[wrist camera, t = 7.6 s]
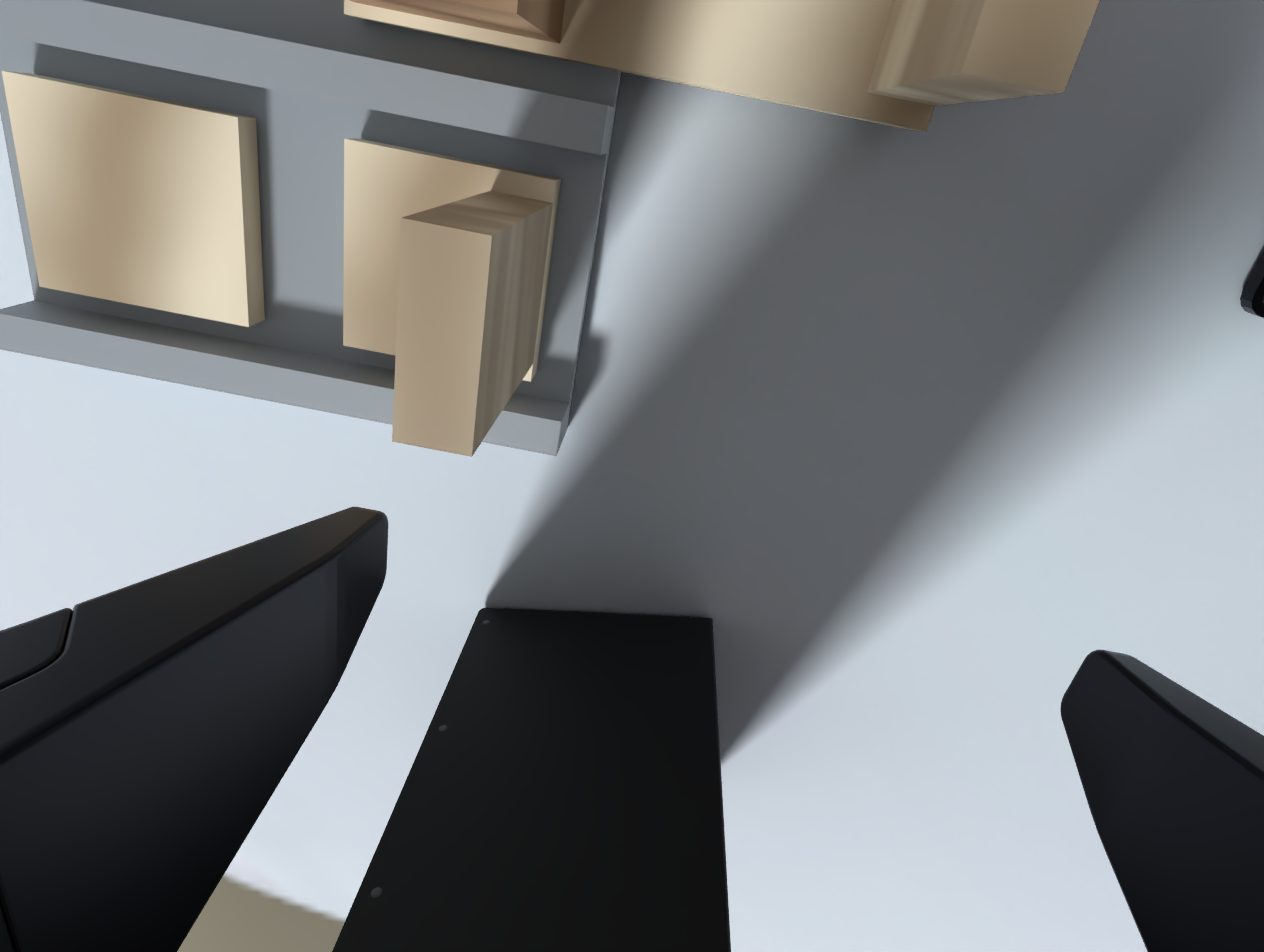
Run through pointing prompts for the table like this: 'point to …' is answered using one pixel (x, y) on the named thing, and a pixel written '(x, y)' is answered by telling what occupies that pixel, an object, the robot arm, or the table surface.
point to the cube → (489, 14)
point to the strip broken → (232, 250)
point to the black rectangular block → (560, 797)
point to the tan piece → (815, 48)
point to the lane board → (317, 184)
